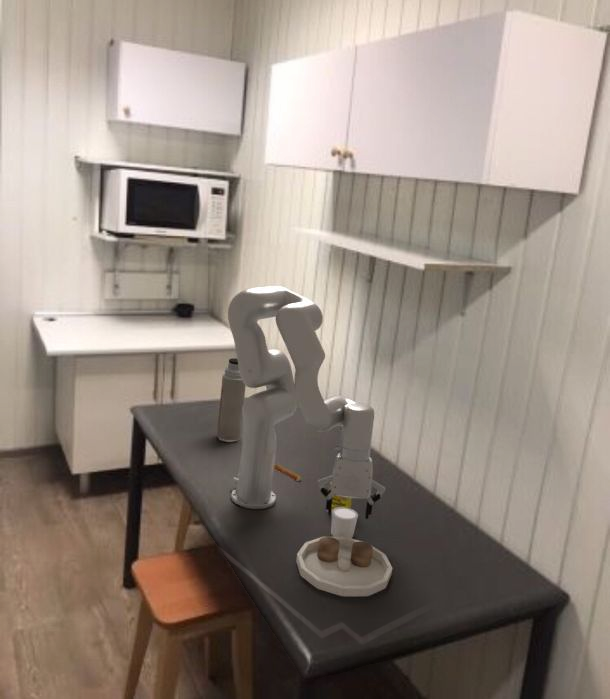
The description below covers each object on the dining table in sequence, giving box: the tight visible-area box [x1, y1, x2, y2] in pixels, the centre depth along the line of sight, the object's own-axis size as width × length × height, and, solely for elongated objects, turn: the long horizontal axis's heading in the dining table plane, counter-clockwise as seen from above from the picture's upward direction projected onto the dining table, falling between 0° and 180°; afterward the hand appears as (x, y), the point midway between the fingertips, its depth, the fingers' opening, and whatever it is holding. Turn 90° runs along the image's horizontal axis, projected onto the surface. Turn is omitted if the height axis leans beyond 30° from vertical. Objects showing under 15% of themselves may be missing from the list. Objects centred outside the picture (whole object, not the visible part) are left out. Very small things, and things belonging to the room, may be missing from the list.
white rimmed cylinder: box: [330, 507, 359, 539], centre depth 179 cm, size 7×7×7 cm
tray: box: [295, 536, 393, 598], centre depth 163 cm, size 22×22×3 cm
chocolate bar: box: [274, 462, 302, 482], centre depth 213 cm, size 3×12×2 cm, turn 47°
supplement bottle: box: [326, 482, 353, 515], centre depth 190 cm, size 7×7×13 cm
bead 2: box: [350, 541, 374, 567], centre depth 167 cm, size 5×5×4 cm
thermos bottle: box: [216, 357, 247, 440], centre depth 232 cm, size 8×8×28 cm
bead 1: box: [317, 536, 340, 562], centre depth 167 cm, size 5×5×4 cm
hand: (348, 514), depth 177 cm, fingers open, 9 cm apart
